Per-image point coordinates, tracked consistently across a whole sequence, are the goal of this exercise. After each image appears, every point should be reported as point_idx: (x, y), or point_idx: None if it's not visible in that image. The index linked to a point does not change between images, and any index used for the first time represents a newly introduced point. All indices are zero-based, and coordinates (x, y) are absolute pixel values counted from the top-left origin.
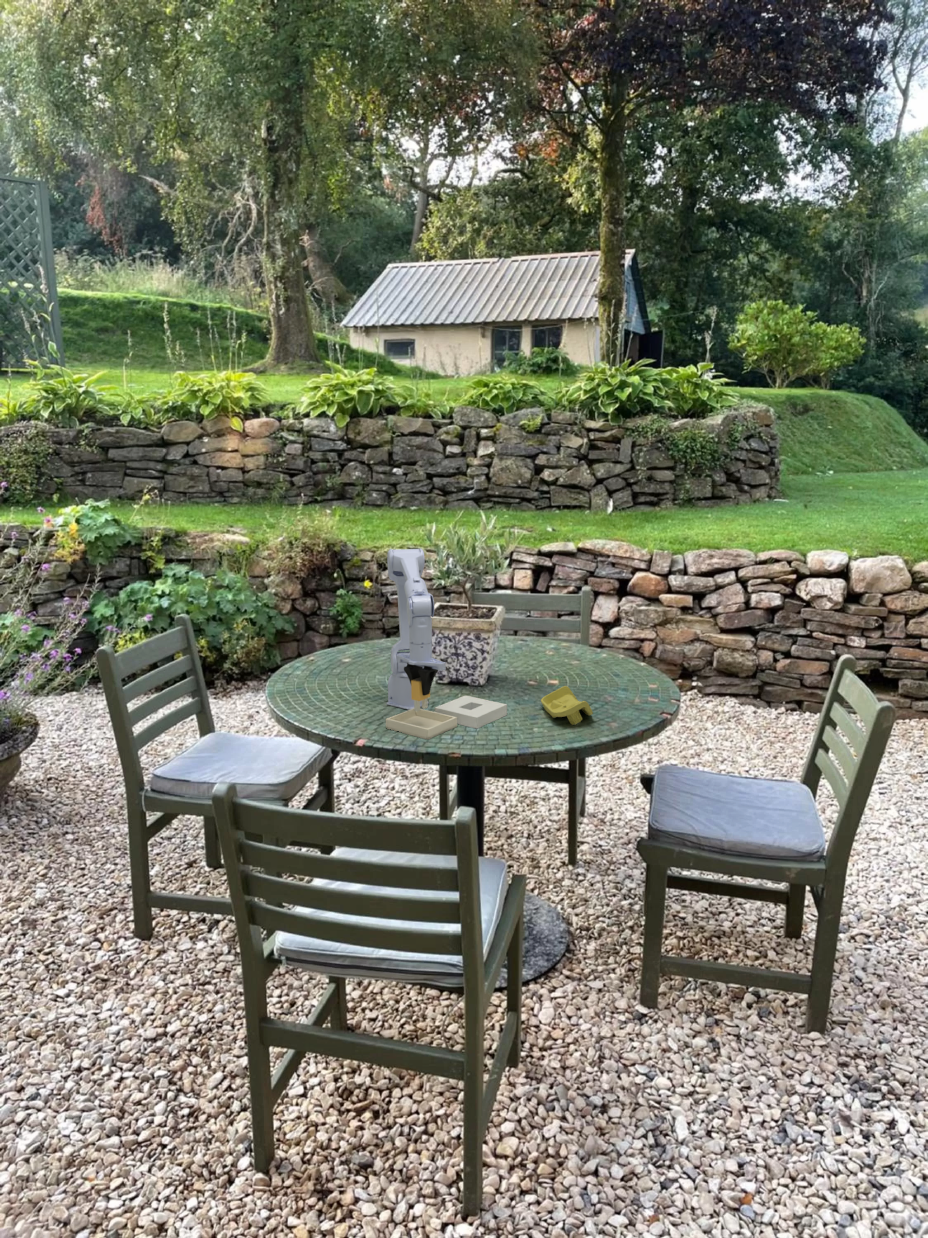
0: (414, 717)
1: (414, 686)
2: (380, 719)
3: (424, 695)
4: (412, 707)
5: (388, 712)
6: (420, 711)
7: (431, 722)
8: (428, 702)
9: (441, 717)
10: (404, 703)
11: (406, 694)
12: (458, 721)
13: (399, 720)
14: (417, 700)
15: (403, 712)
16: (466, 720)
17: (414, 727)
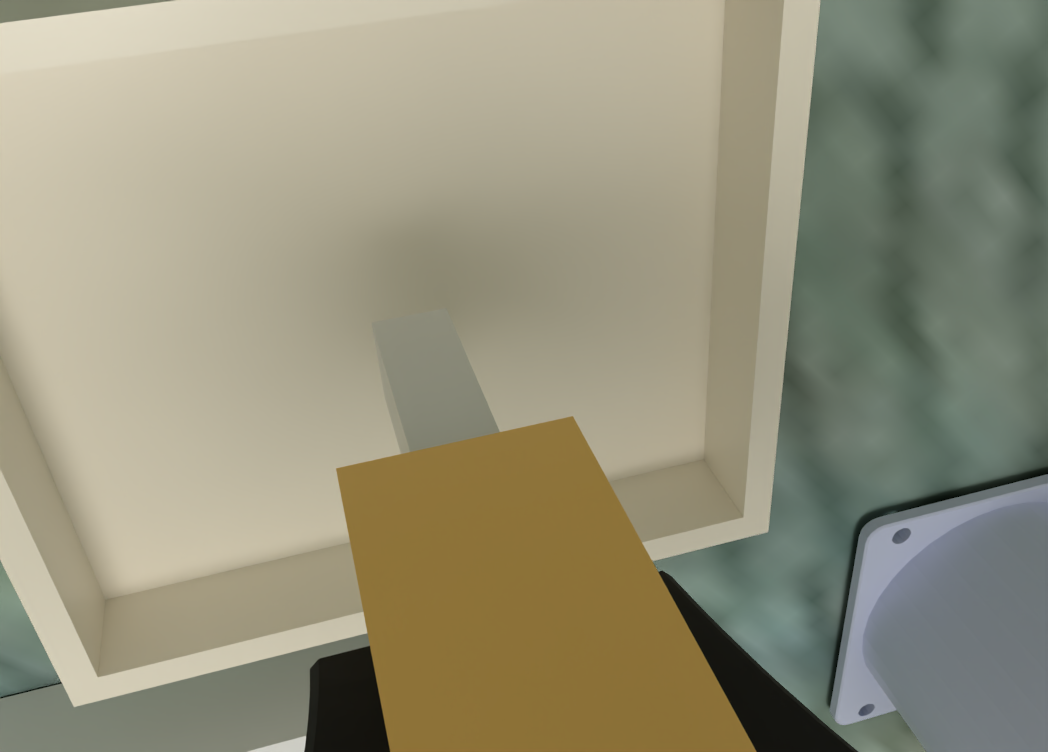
0: (672, 413)
1: (587, 703)
2: (1012, 110)
3: (315, 662)
4: (885, 561)
5: (1044, 330)
6: (659, 519)
7: (379, 458)
8: (836, 720)
9: (313, 594)
10: (991, 544)
11: (1041, 633)
12: (162, 685)
13: (727, 186)
14: (396, 460)
15: (777, 322)
16: (27, 750)
17: (134, 2)
